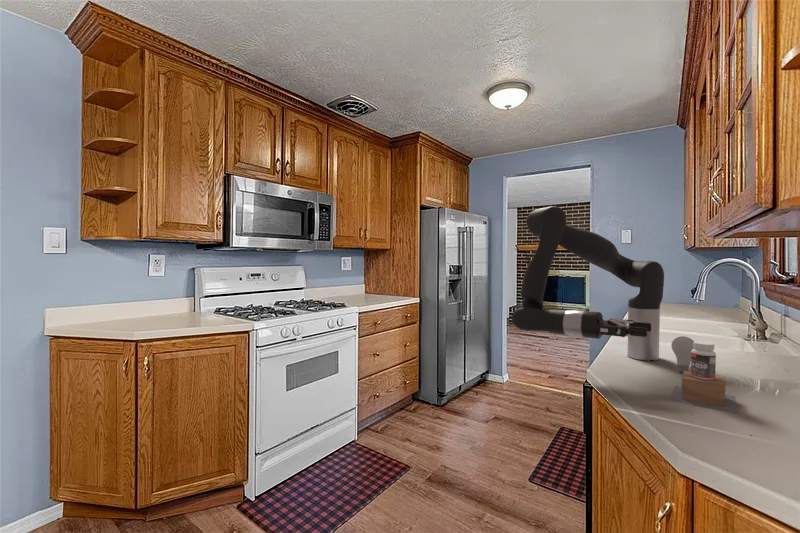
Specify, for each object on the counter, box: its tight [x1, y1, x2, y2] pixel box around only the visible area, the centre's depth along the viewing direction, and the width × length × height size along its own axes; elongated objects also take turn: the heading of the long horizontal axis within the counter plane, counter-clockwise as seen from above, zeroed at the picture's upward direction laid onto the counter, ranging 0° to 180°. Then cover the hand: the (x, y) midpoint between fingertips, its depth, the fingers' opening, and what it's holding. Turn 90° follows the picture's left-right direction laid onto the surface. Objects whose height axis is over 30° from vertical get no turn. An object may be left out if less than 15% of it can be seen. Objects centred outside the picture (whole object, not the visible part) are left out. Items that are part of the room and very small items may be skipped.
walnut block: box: [681, 370, 726, 407], centre depth 94 cm, size 8×8×5 cm
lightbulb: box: [671, 335, 694, 374], centre depth 116 cm, size 6×6×11 cm
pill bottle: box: [690, 340, 717, 380], centre depth 94 cm, size 5×5×8 cm
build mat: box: [670, 385, 738, 414], centre depth 94 cm, size 14×12×1 cm
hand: (649, 329), depth 102 cm, fingers open, 8 cm apart
